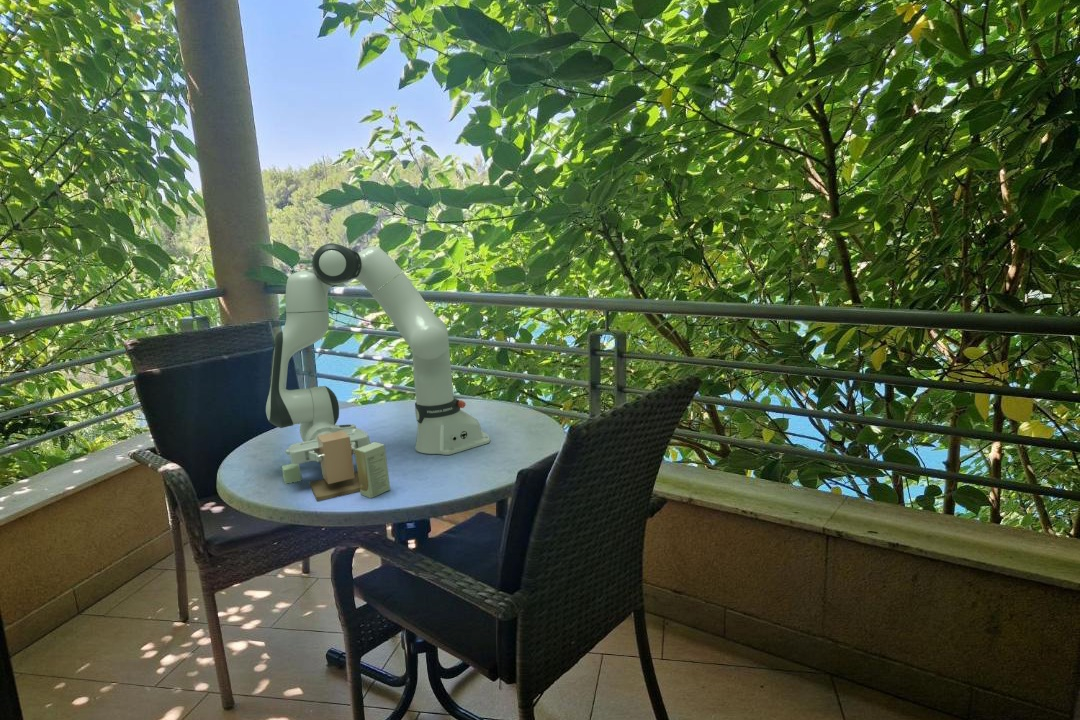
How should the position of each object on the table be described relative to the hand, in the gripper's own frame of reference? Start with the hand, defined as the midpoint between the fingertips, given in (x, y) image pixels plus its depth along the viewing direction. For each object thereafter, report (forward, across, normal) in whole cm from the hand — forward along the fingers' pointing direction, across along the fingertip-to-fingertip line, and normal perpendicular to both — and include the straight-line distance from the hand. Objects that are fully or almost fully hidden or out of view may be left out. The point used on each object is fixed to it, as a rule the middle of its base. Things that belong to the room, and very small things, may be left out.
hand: (336, 455), depth 158 cm
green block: (-14, -9, +9) cm, 19 cm away
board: (-1, 0, +9) cm, 9 cm away
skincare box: (+8, +6, +9) cm, 14 cm away
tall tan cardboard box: (-1, 0, +6) cm, 6 cm away
